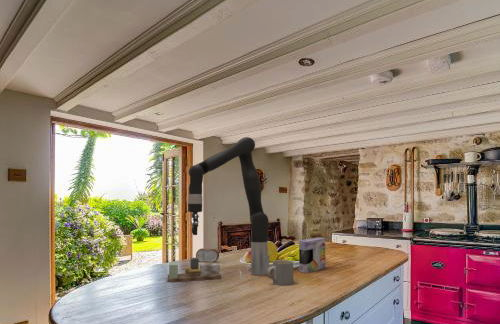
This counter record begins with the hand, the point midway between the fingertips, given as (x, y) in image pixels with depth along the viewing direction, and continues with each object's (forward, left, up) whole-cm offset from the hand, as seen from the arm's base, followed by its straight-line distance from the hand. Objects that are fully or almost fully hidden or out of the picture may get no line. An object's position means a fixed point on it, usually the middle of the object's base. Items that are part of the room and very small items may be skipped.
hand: (194, 234), depth 178 cm
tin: (+20, -38, -23) cm, 48 cm away
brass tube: (-3, -2, -20) cm, 20 cm away
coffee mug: (-43, -14, -23) cm, 50 cm away
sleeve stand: (-1, 0, -22) cm, 22 cm away
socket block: (+7, +8, -21) cm, 23 cm away
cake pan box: (-47, -48, -23) cm, 70 cm away
